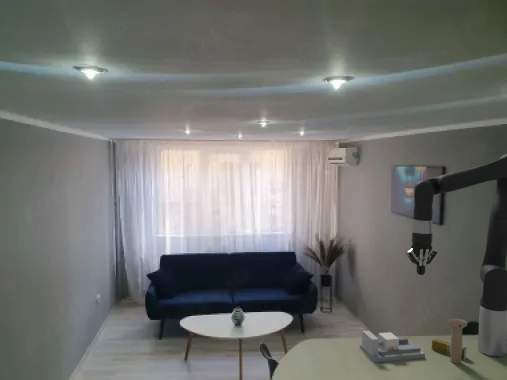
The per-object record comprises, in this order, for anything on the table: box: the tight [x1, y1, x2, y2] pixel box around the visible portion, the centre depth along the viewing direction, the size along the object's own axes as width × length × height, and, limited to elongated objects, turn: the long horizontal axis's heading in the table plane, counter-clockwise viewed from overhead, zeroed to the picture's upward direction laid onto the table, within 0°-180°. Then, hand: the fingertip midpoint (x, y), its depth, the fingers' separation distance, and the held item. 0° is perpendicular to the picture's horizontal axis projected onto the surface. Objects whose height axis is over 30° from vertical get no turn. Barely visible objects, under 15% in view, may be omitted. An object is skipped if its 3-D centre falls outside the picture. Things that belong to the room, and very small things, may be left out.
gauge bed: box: [359, 330, 426, 363], centre depth 164 cm, size 20×12×8 cm, turn 101°
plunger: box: [377, 331, 400, 350], centre depth 162 cm, size 8×8×5 cm
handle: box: [446, 318, 468, 364], centre depth 157 cm, size 5×6×15 cm
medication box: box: [431, 338, 467, 360], centre depth 164 cm, size 12×3×4 cm, turn 45°
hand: (420, 274), depth 173 cm, fingers closed
